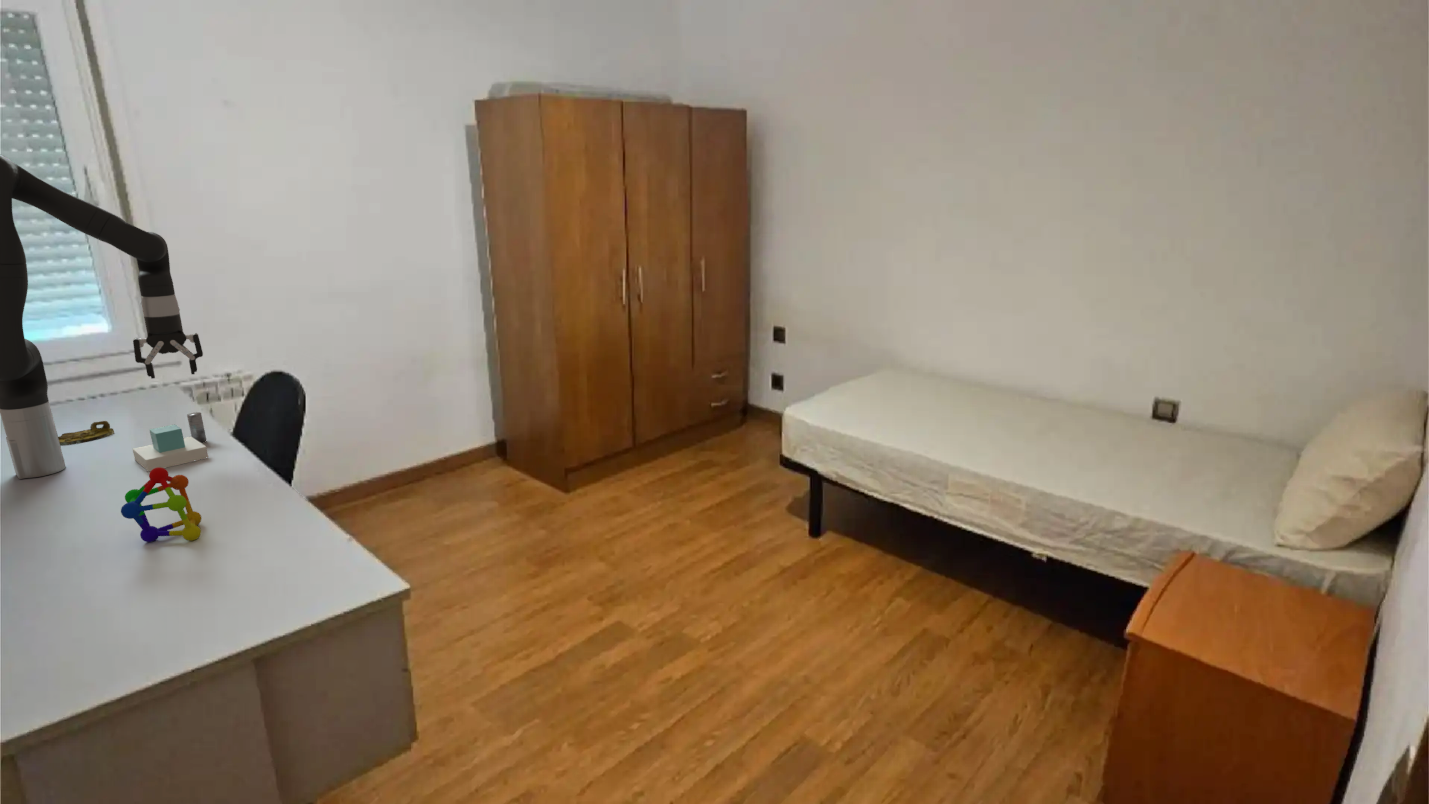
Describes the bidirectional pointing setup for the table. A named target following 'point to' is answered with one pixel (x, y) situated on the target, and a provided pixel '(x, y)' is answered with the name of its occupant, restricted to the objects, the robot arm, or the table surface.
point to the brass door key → (87, 434)
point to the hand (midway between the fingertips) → (173, 375)
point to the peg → (196, 426)
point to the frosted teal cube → (167, 438)
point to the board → (170, 455)
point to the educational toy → (174, 503)
